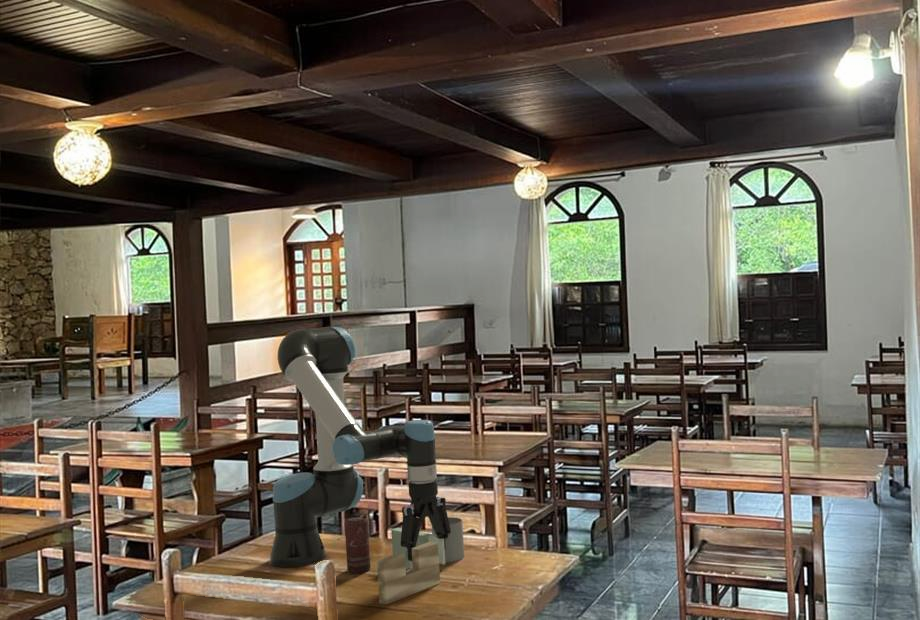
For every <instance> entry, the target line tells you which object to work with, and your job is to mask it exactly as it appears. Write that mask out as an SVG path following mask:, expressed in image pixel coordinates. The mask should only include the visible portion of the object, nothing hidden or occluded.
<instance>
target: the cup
mask: <svg viewBox="0 0 920 620" xmlns="http://www.w3.org/2000/svg"><path fill="white" fill-rule="evenodd" d="M448 520H449V525H450V529H451V533H450V534H448V538H445V544H446V548H445V563H452V562H453V563H454V562H458V561H461V560H463V559H464V558H465V546H464V545H465V544H464V528H463V524H464V523H463V519H462V518H460V517H451V516H450V517H448ZM445 529H446V528H445ZM431 534H434V535H435V538H436V537H437V535H436V533H435V531H434V528H433V526H432V525H431ZM437 538H438V537H437Z"/></svg>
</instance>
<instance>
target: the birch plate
mask: <svg viewBox="0 0 920 620" xmlns="http://www.w3.org/2000/svg"><path fill="white" fill-rule="evenodd" d="M412 561H413V569H411V570H410V569H407V570H406V566H405V554H400V553H397V554H394V555H393V554H391V555H388V556H385V557H382V558H380V559H377V560H376V564H377V565H376V566H377V567H376V568H377V582H378V599H379V603H380V604H383V605H389V604H391V603H395V602H397V601H399V600H402V599H405V598H407V597H409V596H411V595H414V594H416V593H419V592H422V591H425V590H427V589H430V588H431V587H434V586H438V585H439V584H441V573H440V564H439V554H438V543H435V542H429V543H426V544H423V545H420V546H417V547H414V548H412Z"/></svg>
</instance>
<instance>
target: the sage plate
mask: <svg viewBox="0 0 920 620" xmlns="http://www.w3.org/2000/svg"><path fill="white" fill-rule="evenodd" d="M390 532H391V533H390V534H391V549H392V550H391V551H392V555H394V554H397V553H400V554H405V566H406V571H408V570H410V561H409V560H408V552H407V548H406V547H402V546H401V545H400V544H401V533H402V527H395V528H393V529H391V530H390ZM429 542H435V535H434V534H432V533H428V532H423V531H419V535H418V539H417V543H416V547H417V546H420V545H423V544H426V543H429ZM411 543H412V542H411Z"/></svg>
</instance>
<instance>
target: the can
mask: <svg viewBox="0 0 920 620" xmlns="http://www.w3.org/2000/svg"><path fill="white" fill-rule="evenodd" d="M344 534H345V553H346V565H347V566H346V568H347V571H348V572H349V573H350V574H357V573H358V574H363V573H366V572H369V571H370V569H371V555H370V554H371V552H370V538H369V537H370V535H369V519H368V518H367V517H366V516H365V515H363V514H362V515H352V516H348V517H346V518H345V520H344ZM358 574H357V575H358Z"/></svg>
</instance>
